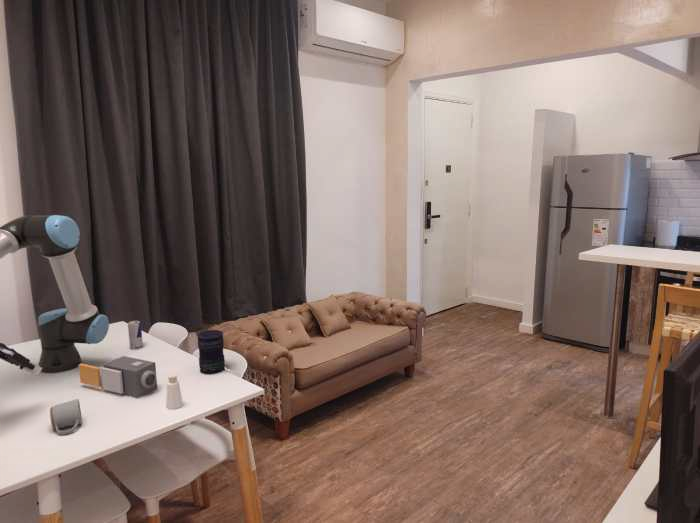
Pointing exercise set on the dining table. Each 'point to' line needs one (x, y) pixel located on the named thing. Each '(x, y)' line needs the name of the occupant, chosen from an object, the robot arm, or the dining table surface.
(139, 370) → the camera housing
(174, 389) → the pepper shaker
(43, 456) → the dining table surface
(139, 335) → the energy drink
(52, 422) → the ceramic mug
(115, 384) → the side door
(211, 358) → the storage jar
